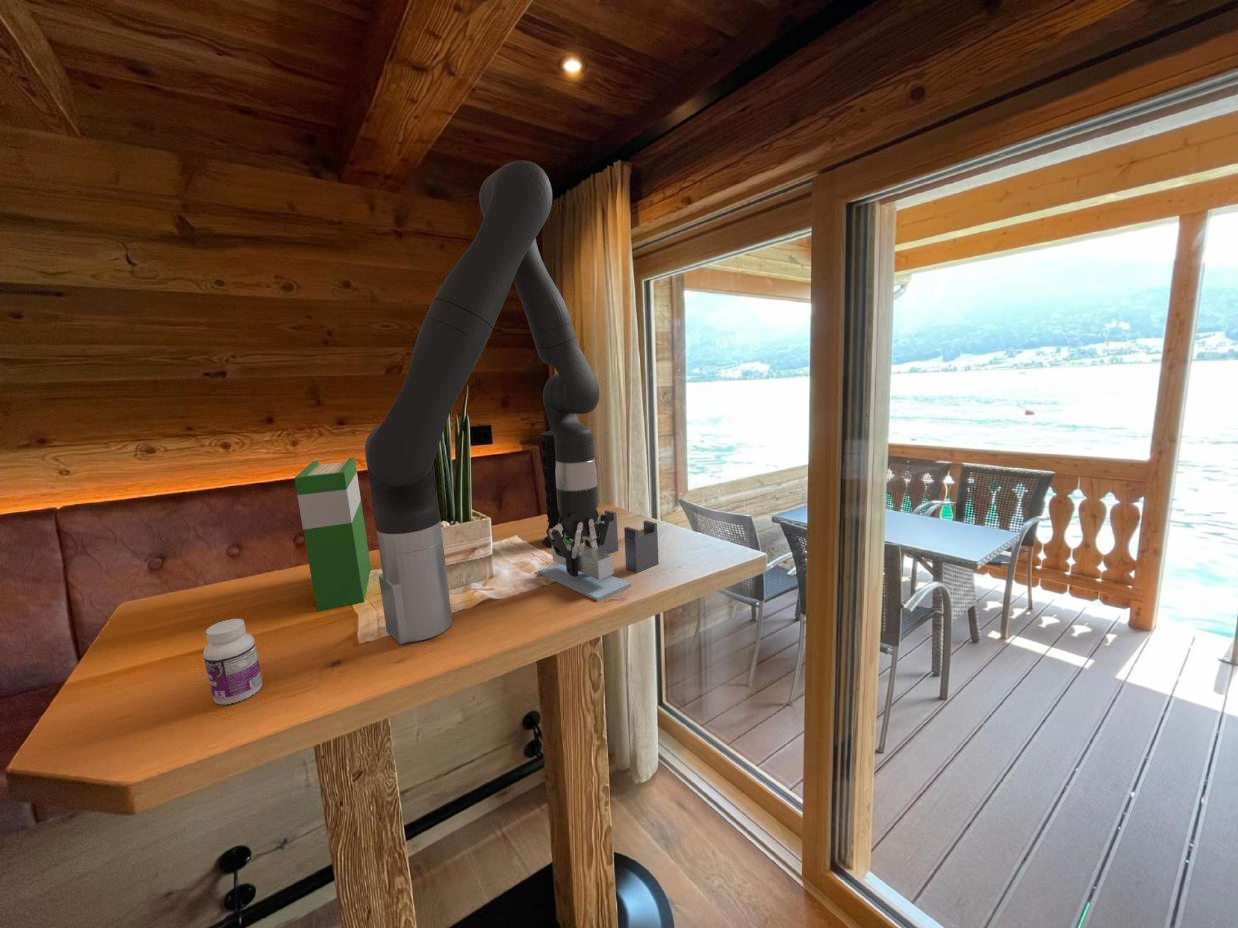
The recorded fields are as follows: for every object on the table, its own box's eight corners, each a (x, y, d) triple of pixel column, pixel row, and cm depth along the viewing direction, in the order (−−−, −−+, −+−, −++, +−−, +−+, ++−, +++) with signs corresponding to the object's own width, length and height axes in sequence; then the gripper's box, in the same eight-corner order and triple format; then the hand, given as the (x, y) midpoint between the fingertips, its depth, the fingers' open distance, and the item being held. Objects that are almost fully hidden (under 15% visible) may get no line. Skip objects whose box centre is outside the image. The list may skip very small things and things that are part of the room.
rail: (598, 579, 91) (597, 561, 90) (552, 560, 101) (551, 543, 101) (613, 573, 93) (612, 555, 93) (567, 555, 104) (566, 538, 103)
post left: (596, 558, 109) (594, 519, 107) (587, 554, 111) (585, 516, 109) (618, 550, 113) (616, 512, 111) (609, 547, 115) (607, 509, 113)
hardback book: (331, 575, 106) (313, 461, 102) (371, 568, 109) (354, 457, 104) (317, 611, 90) (294, 477, 86) (363, 602, 93) (344, 472, 88)
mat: (597, 601, 89) (597, 597, 89) (538, 573, 102) (538, 570, 102) (630, 586, 94) (630, 583, 94) (571, 561, 107) (570, 559, 107)
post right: (636, 573, 100) (634, 530, 98) (626, 569, 102) (624, 527, 100) (658, 563, 104) (657, 523, 102) (647, 560, 106) (646, 520, 104)
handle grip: (552, 532, 127) (534, 546, 117) (544, 426, 122) (525, 431, 112) (591, 534, 124) (575, 549, 114) (584, 425, 119) (567, 431, 109)
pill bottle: (206, 697, 67) (191, 629, 65) (252, 676, 71) (239, 612, 69) (223, 711, 64) (207, 640, 62) (270, 688, 68) (257, 621, 66)
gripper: (557, 494, 87) (564, 589, 90) (618, 479, 96) (623, 566, 100) (532, 488, 92) (540, 578, 96) (593, 474, 102) (597, 556, 105)
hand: (582, 571), depth 98 cm, fingers closed on rail, 3 cm apart
